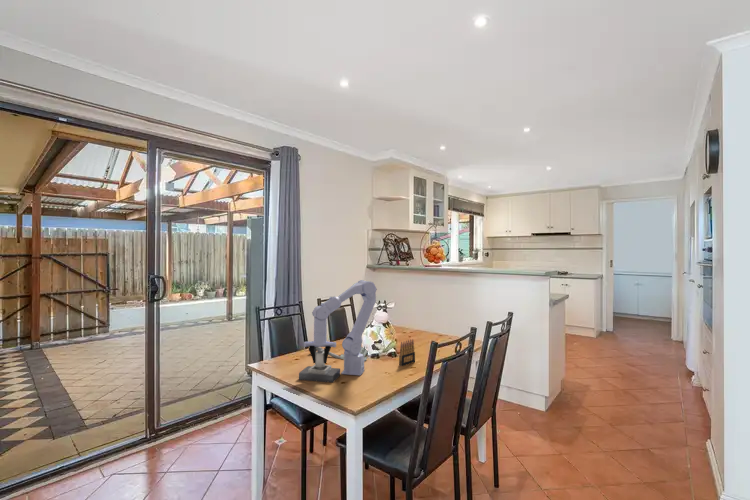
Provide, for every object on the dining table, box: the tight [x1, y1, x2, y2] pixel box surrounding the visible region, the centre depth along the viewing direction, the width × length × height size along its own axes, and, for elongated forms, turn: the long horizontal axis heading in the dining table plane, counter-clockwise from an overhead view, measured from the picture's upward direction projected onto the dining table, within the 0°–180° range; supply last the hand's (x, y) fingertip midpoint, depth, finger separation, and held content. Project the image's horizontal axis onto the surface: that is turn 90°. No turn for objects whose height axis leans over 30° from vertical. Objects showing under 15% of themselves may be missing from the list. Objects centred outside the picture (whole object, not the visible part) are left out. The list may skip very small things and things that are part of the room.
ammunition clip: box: [398, 338, 416, 367], centre depth 184 cm, size 11×2×12 cm, turn 135°
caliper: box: [316, 347, 341, 360], centre depth 197 cm, size 20×1×6 cm, turn 60°
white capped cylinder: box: [314, 350, 326, 367], centre depth 163 cm, size 4×4×7 cm
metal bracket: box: [339, 345, 369, 362], centre depth 195 cm, size 14×6×15 cm
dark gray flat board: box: [298, 364, 341, 384], centre depth 162 cm, size 16×10×4 cm, turn 78°
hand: (319, 362), depth 162 cm, fingers closed on white capped cylinder, 4 cm apart
